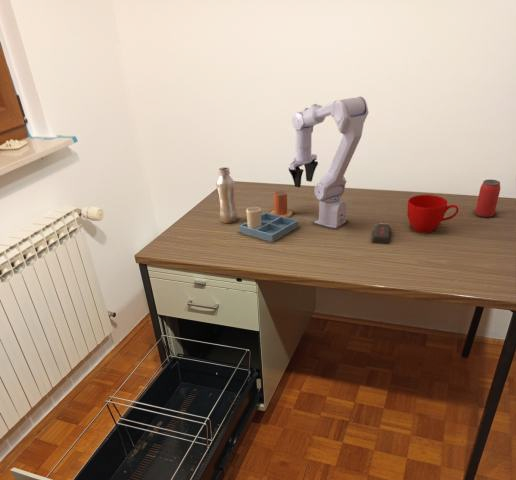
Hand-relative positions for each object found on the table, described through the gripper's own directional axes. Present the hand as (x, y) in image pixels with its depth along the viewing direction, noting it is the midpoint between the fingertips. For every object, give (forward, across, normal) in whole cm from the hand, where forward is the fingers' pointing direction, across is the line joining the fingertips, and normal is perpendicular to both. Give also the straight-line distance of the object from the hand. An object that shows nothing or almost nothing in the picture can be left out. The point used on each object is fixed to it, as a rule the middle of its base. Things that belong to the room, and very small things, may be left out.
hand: (303, 183), depth 188 cm
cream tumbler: (+10, +27, -3) cm, 29 cm away
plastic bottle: (+11, +25, -17) cm, 32 cm away
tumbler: (+10, +8, -5) cm, 14 cm away
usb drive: (+11, +5, +37) cm, 39 cm away
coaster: (+10, +8, -5) cm, 14 cm away
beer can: (+11, -32, +59) cm, 68 cm away
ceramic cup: (+11, -9, +48) cm, 50 cm away
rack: (+10, +23, +1) cm, 25 cm away
